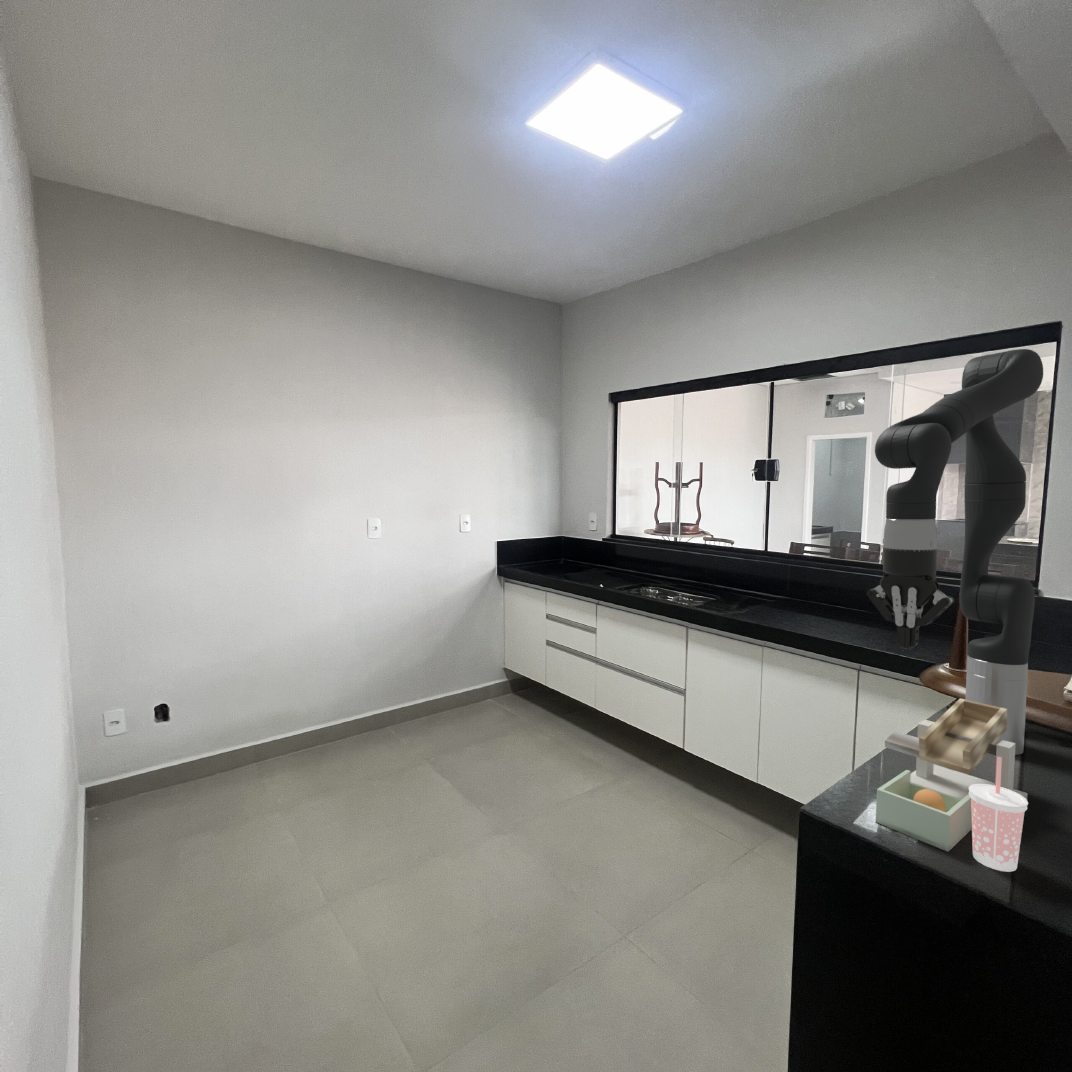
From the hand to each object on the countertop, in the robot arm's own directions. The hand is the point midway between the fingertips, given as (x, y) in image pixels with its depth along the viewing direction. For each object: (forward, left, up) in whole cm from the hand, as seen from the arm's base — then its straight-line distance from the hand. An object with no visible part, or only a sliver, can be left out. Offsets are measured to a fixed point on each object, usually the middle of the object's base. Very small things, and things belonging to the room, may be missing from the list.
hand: (907, 647), depth 98 cm
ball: (+11, +8, -20) cm, 24 cm away
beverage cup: (+15, +17, -23) cm, 32 cm away
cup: (+12, +8, -23) cm, 27 cm away
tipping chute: (-3, +6, -16) cm, 17 cm away
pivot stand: (-3, +8, -23) cm, 24 cm away
